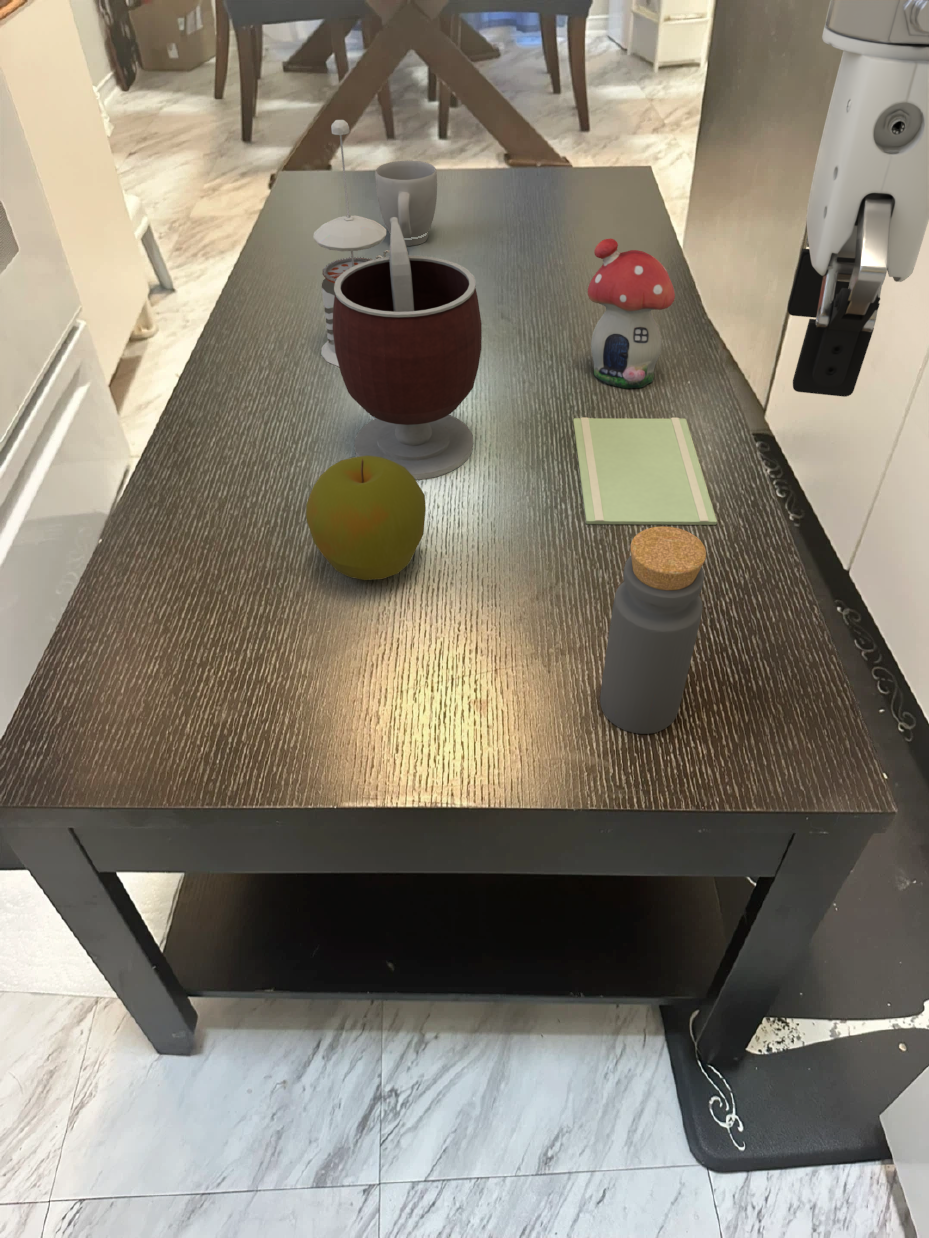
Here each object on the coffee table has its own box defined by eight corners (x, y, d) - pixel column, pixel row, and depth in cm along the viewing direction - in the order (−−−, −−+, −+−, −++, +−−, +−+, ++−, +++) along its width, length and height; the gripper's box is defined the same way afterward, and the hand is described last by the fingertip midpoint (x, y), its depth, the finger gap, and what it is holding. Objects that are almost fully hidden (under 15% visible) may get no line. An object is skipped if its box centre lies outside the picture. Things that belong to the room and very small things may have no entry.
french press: (350, 324, 112) (327, 102, 95) (429, 344, 108) (420, 116, 91) (304, 357, 106) (270, 126, 89) (386, 379, 102) (368, 142, 85)
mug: (382, 228, 136) (377, 160, 129) (439, 228, 136) (438, 160, 129) (375, 259, 127) (369, 188, 120) (436, 259, 127) (434, 188, 120)
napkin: (716, 525, 82) (717, 520, 81) (586, 524, 82) (586, 520, 82) (685, 421, 95) (686, 417, 94) (572, 421, 95) (573, 417, 95)
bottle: (589, 721, 65) (611, 565, 55) (611, 667, 69) (634, 511, 58) (668, 744, 63) (706, 588, 53) (685, 687, 67) (723, 531, 57)
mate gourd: (491, 477, 88) (494, 277, 74) (351, 490, 86) (327, 289, 72) (467, 398, 99) (465, 211, 85) (342, 409, 97) (320, 221, 83)
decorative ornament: (571, 373, 102) (582, 242, 92) (600, 352, 106) (613, 223, 96) (643, 397, 98) (663, 262, 88) (670, 373, 102) (692, 241, 92)
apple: (423, 525, 82) (418, 421, 75) (433, 594, 75) (428, 487, 68) (315, 533, 81) (298, 430, 74) (315, 604, 74) (296, 498, 67)
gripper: (1046, 51, 34) (900, 435, 46) (969, -23, 46) (869, 296, 58) (843, 44, 35) (751, 419, 47) (819, -27, 48) (751, 286, 59)
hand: (816, 351), depth 53 cm, fingers open, 9 cm apart
